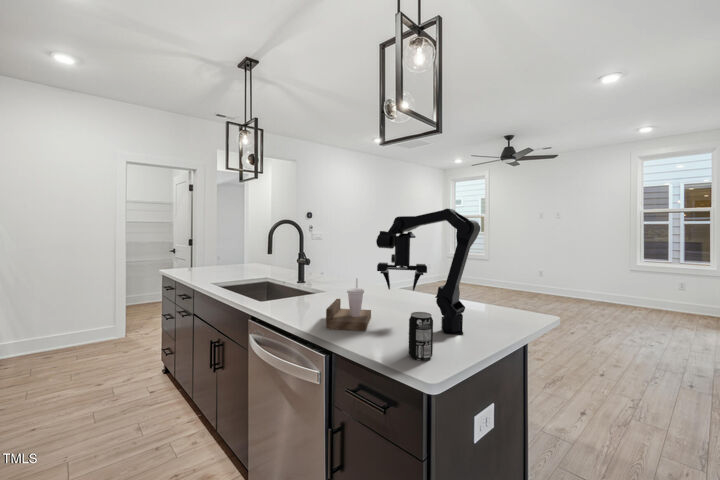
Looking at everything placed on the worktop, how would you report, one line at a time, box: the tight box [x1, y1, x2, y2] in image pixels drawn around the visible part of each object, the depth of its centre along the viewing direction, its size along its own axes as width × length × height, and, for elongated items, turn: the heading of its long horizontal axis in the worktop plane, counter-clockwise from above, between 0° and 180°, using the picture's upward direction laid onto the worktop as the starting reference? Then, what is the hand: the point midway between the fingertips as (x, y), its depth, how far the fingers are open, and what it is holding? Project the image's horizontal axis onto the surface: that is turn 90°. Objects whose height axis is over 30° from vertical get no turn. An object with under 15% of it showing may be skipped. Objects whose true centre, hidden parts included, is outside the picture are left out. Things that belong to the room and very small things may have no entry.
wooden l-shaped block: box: [325, 298, 372, 332], centre depth 126 cm, size 14×18×7 cm
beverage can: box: [408, 311, 434, 361], centre depth 93 cm, size 7×7×12 cm
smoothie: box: [346, 278, 365, 317], centre depth 124 cm, size 6×6×14 cm
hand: (401, 289), depth 128 cm, fingers open, 9 cm apart
